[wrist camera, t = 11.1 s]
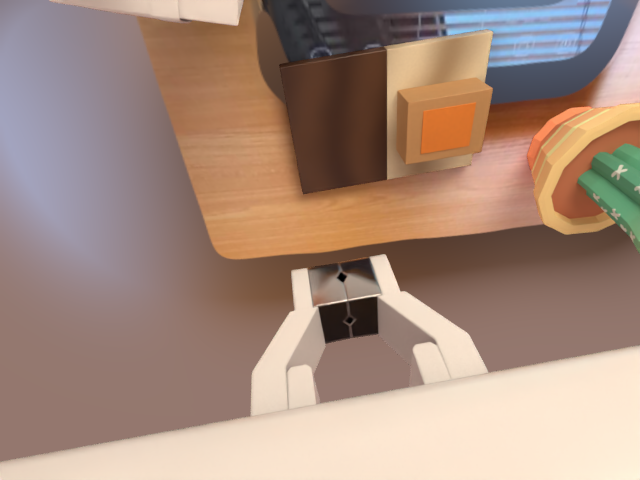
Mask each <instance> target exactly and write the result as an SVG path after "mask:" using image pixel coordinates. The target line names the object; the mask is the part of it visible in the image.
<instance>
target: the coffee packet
mask: <svg viewBox="0 0 640 480" xmlns="http://www.w3.org/2000/svg"><path fill="white" fill-rule="evenodd" d="M492 91H493V88H491V87H490V86H488V85H487V84H485V83H484V82H482V81H481V80H479V79H478V78H476V77H475V78H469V79H463V80H457V81H451V82H445V83H439V84H433V85H426V86H420V87H414V88H408V89H402V90H398V91H397V140H396V150H397V152H398V153H399V155H400V156H401V158H402V160H403V161H404V163H405V164H406V165H408V164H414V163H420V162H426V161H431V160H437V159H443V158H449V157H455V156H461V155H467V154H473V153H479V152H481V150H482V145H483V139H484V134H485V129H486V123H487V118H488V113H489V107H490V102H491V97H492Z"/></svg>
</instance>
